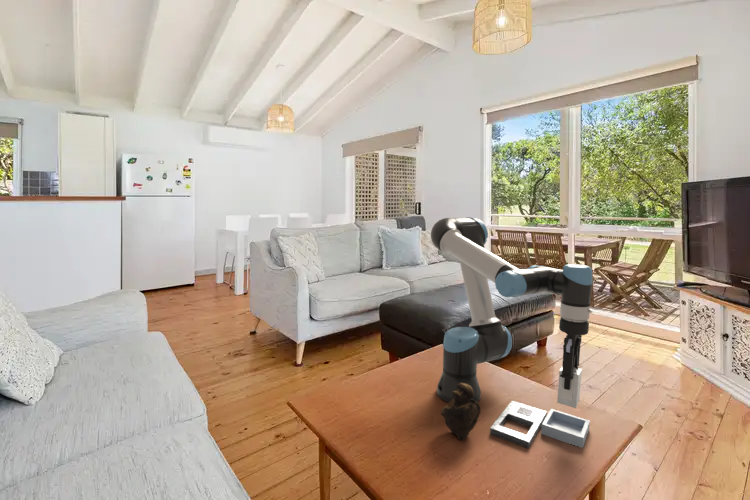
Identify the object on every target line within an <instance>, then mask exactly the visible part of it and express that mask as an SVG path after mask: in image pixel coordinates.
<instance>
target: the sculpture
mask: <svg viewBox="0 0 750 500" xmlns="http://www.w3.org/2000/svg"><path fill="white" fill-rule="evenodd" d="M457 387H458V389H457V390H456V391H453V392H452V394H453V399H452V400H451V401H450V402H449V403H447V405H445V406H444V407H443V408H442V409H441V411H440V416H441V417H442V418H443V419H444V423H445V426H446V427H448V429H449V430H450V432H451V434H453V435H456V436H457V439H458V440H459V441H464V440H465V439H466V438H467V437H468V436H469V435H470V433H471V431H472V430H473V429H474V427H475V426H476V425H477V423H478V419H480V415H481V413H482V412H481V410H482V409H481V405H480V404H479V401H478V402H475V401H474V400H473V396H474V391H473V389H472V387H471V386H470V385H468V384H465V383H458V385H457Z"/></svg>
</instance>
